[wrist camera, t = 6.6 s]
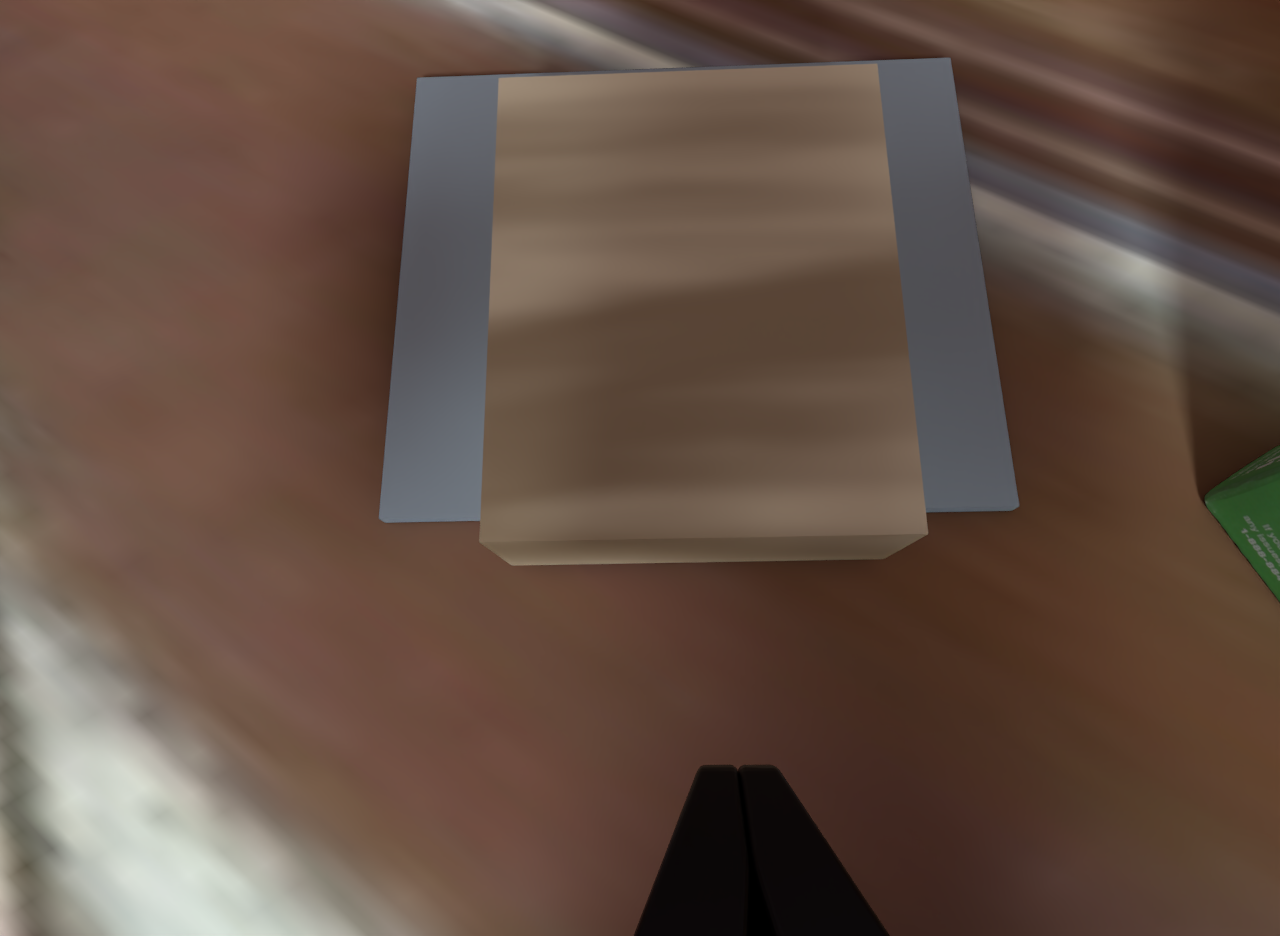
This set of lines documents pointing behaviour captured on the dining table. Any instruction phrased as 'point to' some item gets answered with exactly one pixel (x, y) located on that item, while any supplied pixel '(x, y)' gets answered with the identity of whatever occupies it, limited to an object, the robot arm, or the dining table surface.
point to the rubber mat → (460, 289)
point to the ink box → (1253, 514)
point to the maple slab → (696, 322)
